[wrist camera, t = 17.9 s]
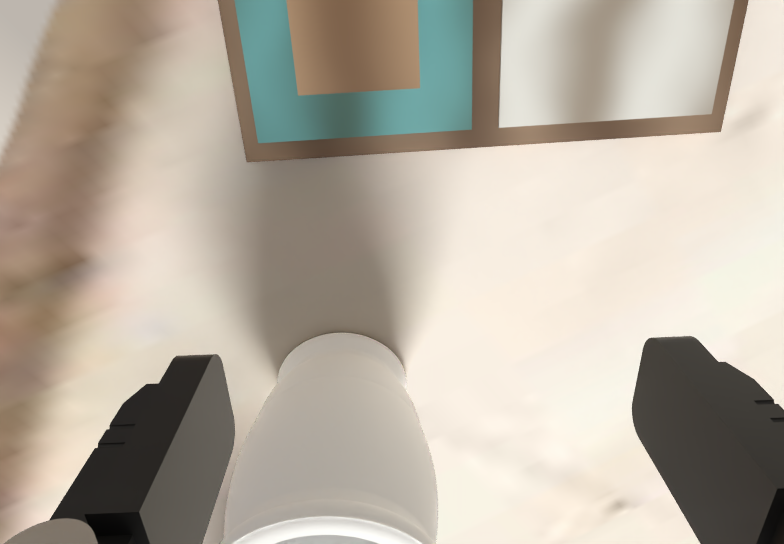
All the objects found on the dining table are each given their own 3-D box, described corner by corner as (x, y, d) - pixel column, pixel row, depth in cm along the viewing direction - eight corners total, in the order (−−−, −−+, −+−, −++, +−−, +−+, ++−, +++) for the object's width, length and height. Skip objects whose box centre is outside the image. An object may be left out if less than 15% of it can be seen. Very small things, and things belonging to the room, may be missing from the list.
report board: (770, -173, 24) (789, -180, 23) (710, 127, 30) (722, 132, 29) (199, -137, 24) (191, -143, 23) (250, 157, 30) (246, 163, 29)
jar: (419, 310, 35) (450, 510, 21) (424, 435, 39) (451, 664, 26) (250, 321, 35) (174, 528, 21) (274, 445, 39) (225, 679, 26)
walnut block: (408, -45, 25) (416, -53, 20) (411, 72, 27) (420, 88, 23) (296, -39, 25) (280, -46, 20) (310, 78, 27) (298, 95, 23)
